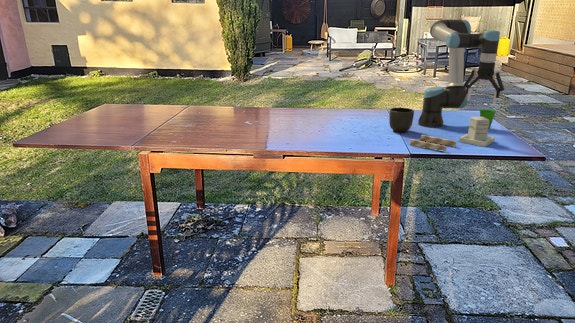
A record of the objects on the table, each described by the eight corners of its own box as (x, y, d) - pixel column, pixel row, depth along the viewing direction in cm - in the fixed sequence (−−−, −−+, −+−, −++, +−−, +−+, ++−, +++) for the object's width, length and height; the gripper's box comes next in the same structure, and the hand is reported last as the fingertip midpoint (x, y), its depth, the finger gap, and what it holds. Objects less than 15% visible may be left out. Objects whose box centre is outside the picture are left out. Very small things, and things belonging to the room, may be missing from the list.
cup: (494, 130, 254) (497, 112, 251) (478, 130, 256) (481, 112, 253) (491, 127, 263) (493, 109, 259) (475, 126, 265) (478, 109, 261)
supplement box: (466, 139, 235) (469, 116, 231) (479, 138, 236) (483, 116, 232) (473, 142, 228) (476, 119, 224) (486, 142, 229) (490, 119, 225)
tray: (458, 141, 232) (459, 137, 231) (468, 136, 241) (469, 132, 241) (485, 147, 223) (485, 142, 222) (494, 141, 232) (495, 137, 232)
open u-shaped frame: (410, 145, 226) (410, 139, 225) (421, 140, 235) (422, 134, 234) (444, 152, 214) (445, 146, 213) (455, 146, 223) (456, 141, 222)
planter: (413, 129, 257) (415, 108, 253) (409, 135, 245) (412, 113, 241) (390, 127, 262) (392, 106, 258) (385, 132, 250) (387, 111, 246)
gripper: (460, 60, 226) (455, 99, 233) (510, 64, 210) (503, 106, 217) (466, 59, 231) (460, 97, 238) (515, 62, 215) (508, 104, 222)
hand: (481, 102), depth 228 cm, fingers open, 13 cm apart
